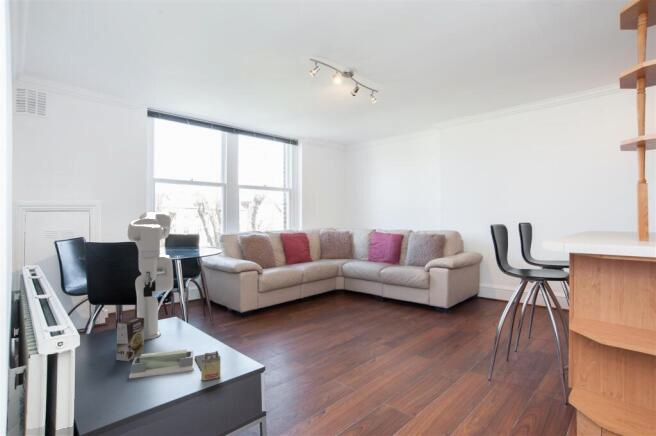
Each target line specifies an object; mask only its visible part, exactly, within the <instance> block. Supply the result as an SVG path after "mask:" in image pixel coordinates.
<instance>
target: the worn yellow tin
mask: <svg viewBox="0 0 656 436" xmlns="http://www.w3.org/2000/svg"><path fill="white" fill-rule="evenodd" d="M204 354H205V357H204V358H202V371H201V372H200V373H201V379H200V381H202V380H208V379H213V378H218V377H220V378H221V362H222V361H221V355H219V351H218V350H216V351H214V352H205V353H204ZM218 379H219V378H218ZM213 380H214V379H213ZM208 381H209V380H208Z"/></svg>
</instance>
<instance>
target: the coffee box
mask: <svg viewBox="0 0 656 436" xmlns="http://www.w3.org/2000/svg"><path fill="white" fill-rule="evenodd" d="M116 327H117V328H116V360H117V361H121V362H122V361H124V362H130V361H132V360H134V358H135V357H140V356H141V354H145V353H144V352H145V351H144V350H145V340H144V318H138V317H137V316H136V317H135V316H132V317H129V318H126V319H124V320H121V321H119V322H117V325H116Z"/></svg>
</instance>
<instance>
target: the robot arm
mask: <svg viewBox="0 0 656 436" xmlns="http://www.w3.org/2000/svg"><path fill="white" fill-rule="evenodd" d="M171 221H172V220H171V217H170V214H168V213H167V212H163V211H162V212H161V211H160V212H159V211H157V212H149V211H148V212H144V213H142V214H141V215H140V216H139V218H138V219H136V220H132V221H130V223H129V224H128V227H127V237H128V240H129V241H130V242H133V243H135V245H136V247H137V250H138V271H139V272H140V273H141V274H140V275H139V276H137V277H136V279H135V282H134V284H135V285H134V286H135V292H136V317H138V318H144V341H147V340H152V339H156V338H158V337H160V336H161V335H162V331H161V330H159V301H158V297H156V295H155V293H165V292H170V291H172V289H174V268H173V260H172V259H173V258H172V257H171V256H170V255H168V254H161V253H160V252H161V240H162V239H167V238H168V237H169V235H170V230H171V225H172V224H171V223H172V222H171Z"/></svg>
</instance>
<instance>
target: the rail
mask: <svg viewBox="0 0 656 436" xmlns="http://www.w3.org/2000/svg"><path fill="white" fill-rule="evenodd" d="M187 351H188V350H187V349H185V348H184V349H177V350H169V351H167V350H166V351H158V352H150V353H149V352H148V353H143V354H141V355H139V357H140V363H142V362H146V370H148V369H156V368H164V367H172V366H180V358H184V357H187Z"/></svg>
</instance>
